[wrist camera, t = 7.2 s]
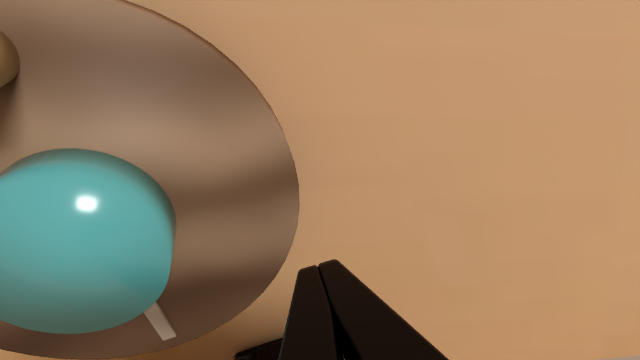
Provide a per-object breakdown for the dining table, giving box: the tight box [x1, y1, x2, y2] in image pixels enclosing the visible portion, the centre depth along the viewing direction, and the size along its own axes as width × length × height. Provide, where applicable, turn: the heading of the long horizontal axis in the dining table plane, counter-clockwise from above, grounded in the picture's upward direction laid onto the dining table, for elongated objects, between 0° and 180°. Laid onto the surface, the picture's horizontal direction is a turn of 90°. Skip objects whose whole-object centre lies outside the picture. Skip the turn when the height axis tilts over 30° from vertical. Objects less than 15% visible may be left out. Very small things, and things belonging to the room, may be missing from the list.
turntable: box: [0, 0, 299, 360], centre depth 18 cm, size 20×20×4 cm
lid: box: [0, 148, 177, 334], centre depth 17 cm, size 8×8×3 cm
